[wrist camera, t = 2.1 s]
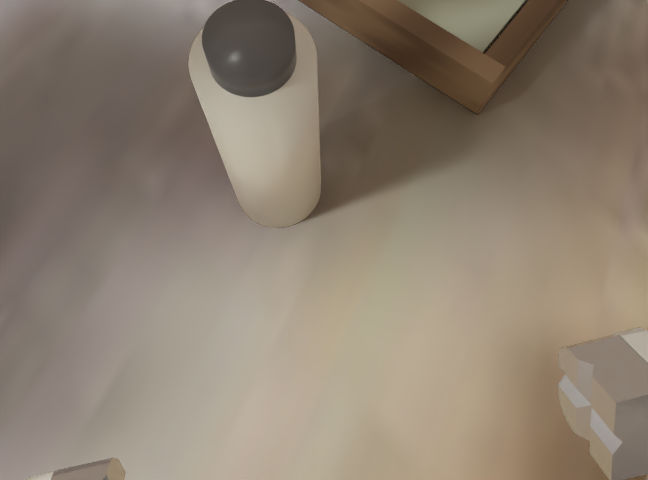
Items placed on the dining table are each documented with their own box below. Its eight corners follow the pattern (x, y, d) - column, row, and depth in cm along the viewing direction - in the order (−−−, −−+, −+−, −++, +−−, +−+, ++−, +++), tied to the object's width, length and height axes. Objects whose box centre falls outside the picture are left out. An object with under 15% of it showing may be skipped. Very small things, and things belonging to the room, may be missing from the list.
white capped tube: (218, 194, 31) (151, 47, 19) (272, 134, 32) (240, -41, 20) (284, 244, 30) (257, 121, 18) (338, 180, 31) (343, 25, 19)
